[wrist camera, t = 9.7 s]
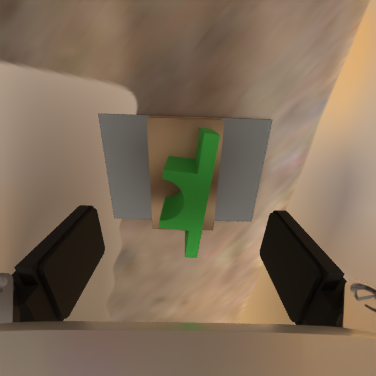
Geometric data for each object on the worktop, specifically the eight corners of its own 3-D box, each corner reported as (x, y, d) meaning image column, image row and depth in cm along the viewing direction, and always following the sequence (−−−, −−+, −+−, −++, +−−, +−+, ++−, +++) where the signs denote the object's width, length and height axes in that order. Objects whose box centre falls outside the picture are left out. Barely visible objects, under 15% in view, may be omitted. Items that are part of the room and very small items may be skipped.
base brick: (155, 115, 21) (146, 117, 16) (216, 117, 21) (224, 120, 16) (158, 207, 25) (152, 228, 21) (208, 208, 26) (213, 230, 21)
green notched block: (171, 123, 16) (166, 127, 12) (211, 128, 17) (220, 134, 12) (162, 226, 21) (156, 255, 16) (194, 229, 21) (197, 259, 17)
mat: (99, 113, 21) (98, 113, 20) (270, 119, 21) (272, 119, 21) (115, 216, 26) (114, 218, 26) (250, 219, 27) (251, 221, 26)
